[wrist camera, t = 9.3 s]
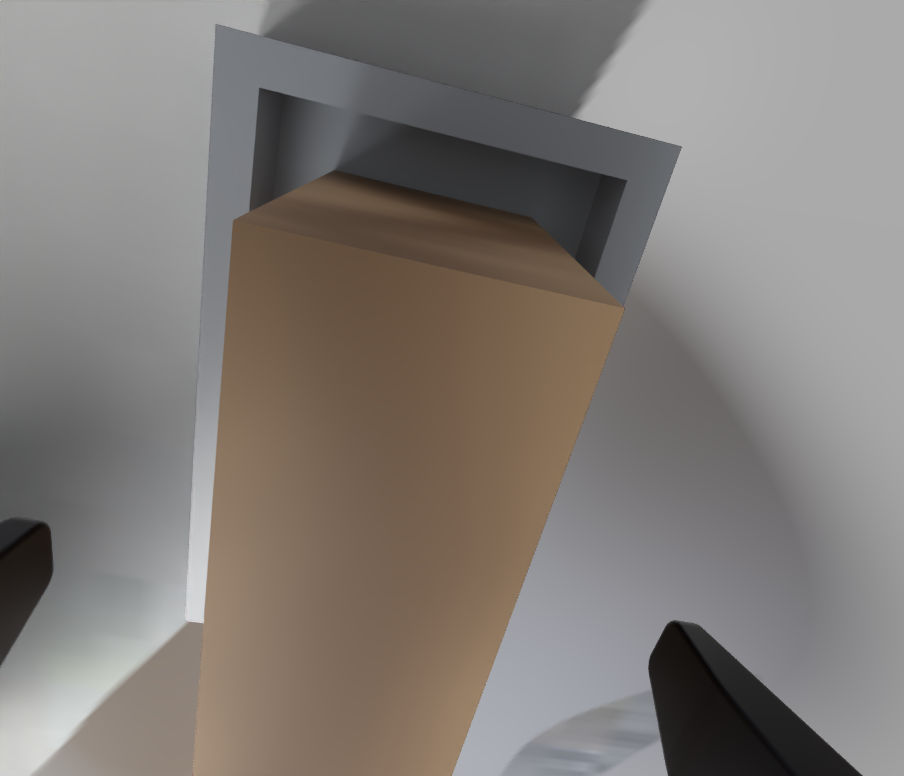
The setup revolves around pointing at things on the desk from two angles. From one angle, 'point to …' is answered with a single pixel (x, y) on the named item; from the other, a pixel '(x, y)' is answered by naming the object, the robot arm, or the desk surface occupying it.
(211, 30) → the desk surface
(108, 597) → the desk surface
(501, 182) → the slot tray
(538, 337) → the walnut block
